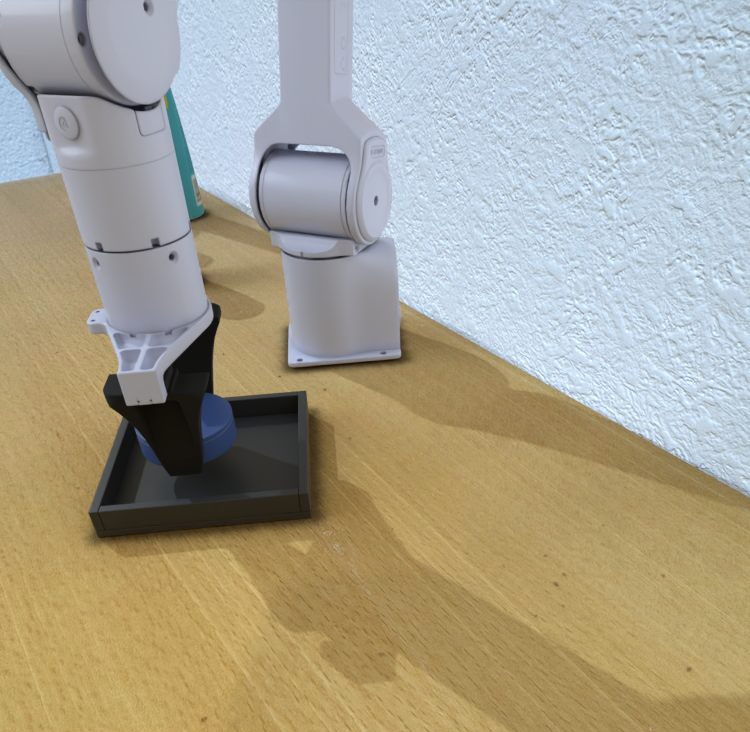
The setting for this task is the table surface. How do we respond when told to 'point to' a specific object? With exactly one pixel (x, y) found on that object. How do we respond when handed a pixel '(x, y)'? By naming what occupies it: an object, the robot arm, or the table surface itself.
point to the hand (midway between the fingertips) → (192, 441)
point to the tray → (214, 475)
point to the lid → (207, 429)
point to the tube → (183, 160)
